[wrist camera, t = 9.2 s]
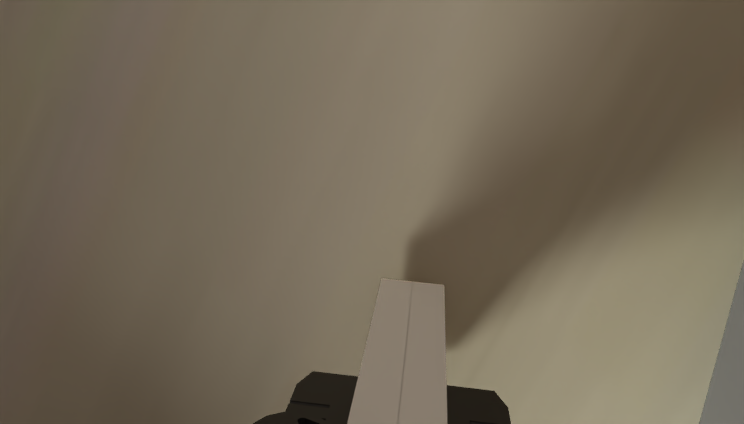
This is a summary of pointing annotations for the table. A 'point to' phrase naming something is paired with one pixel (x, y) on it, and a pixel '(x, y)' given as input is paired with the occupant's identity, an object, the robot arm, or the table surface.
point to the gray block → (728, 369)
